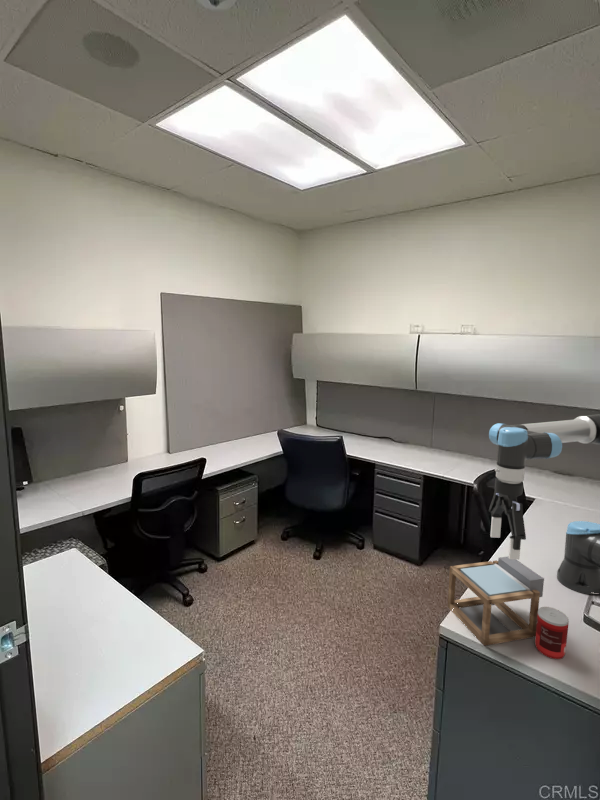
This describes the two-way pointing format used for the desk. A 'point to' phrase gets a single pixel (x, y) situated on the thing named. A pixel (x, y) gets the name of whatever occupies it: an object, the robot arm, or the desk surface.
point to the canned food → (551, 632)
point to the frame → (481, 616)
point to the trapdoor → (504, 577)
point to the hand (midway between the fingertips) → (504, 547)
